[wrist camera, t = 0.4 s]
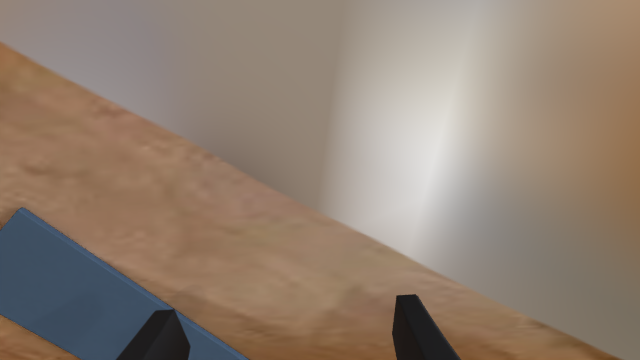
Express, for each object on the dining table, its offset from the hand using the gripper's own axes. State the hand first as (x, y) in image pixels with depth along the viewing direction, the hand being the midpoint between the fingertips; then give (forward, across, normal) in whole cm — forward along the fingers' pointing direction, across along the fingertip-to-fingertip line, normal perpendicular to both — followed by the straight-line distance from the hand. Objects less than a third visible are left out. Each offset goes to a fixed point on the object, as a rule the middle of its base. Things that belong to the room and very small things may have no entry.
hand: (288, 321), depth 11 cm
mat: (+9, +13, +13) cm, 20 cm away
